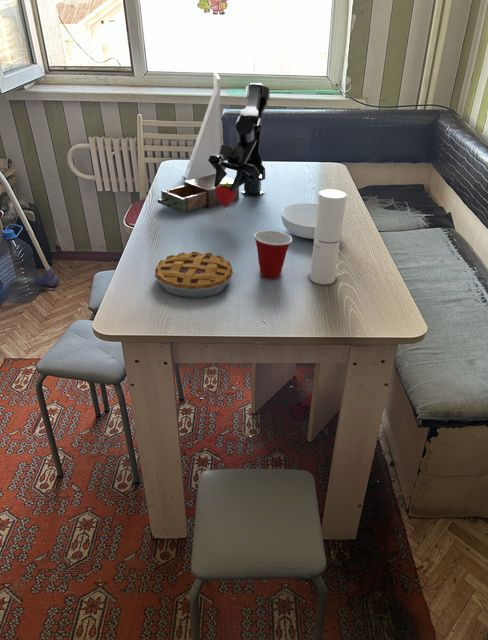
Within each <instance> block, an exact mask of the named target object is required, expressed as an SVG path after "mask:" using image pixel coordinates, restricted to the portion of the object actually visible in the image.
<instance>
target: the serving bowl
mask: <svg viewBox="0 0 488 640" xmlns="http://www.w3.org/2000/svg"><path fill="white" fill-rule="evenodd" d="M317 210H318V203H311V202H310V203H306V202H305V203H296V204H291V205H288V206H285V207H284V208H283V209H282V210H281V213H280V214H281V215H280V217H281V222H282V225H283V226H284V228H285V229H286V231H288V232H289V233H290V234H292V235H294V236H296V237H299V238H303V239H307V240H308V239H310V240H314V237H315V228H316V219H317Z"/></svg>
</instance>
